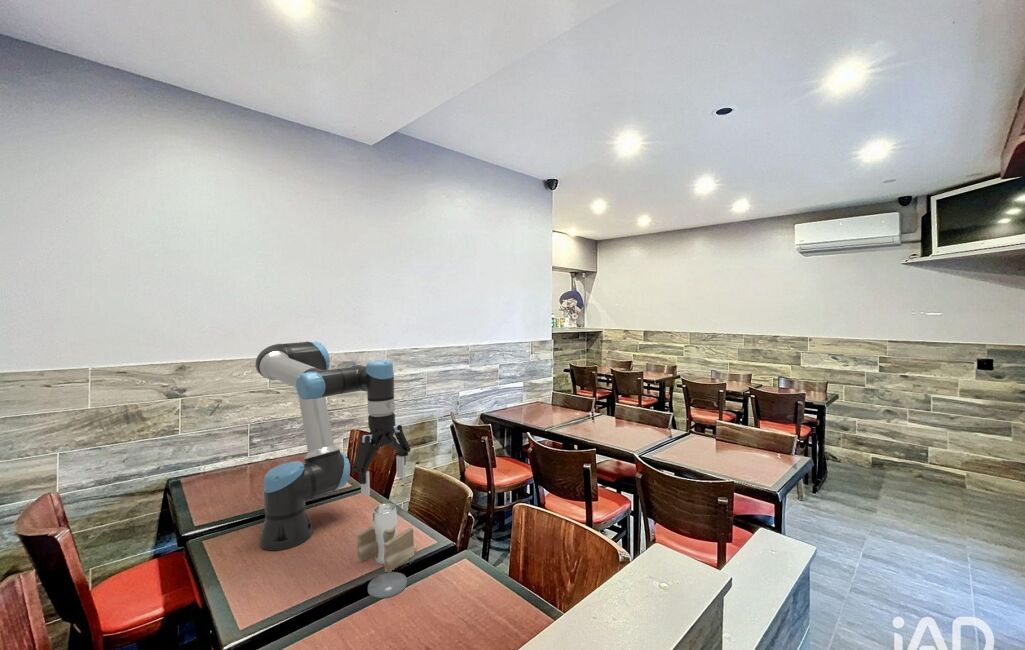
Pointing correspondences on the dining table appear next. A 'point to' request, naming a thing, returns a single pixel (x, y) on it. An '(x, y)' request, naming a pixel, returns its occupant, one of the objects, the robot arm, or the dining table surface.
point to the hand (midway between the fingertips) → (384, 485)
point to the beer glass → (384, 527)
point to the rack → (387, 548)
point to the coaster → (387, 585)
